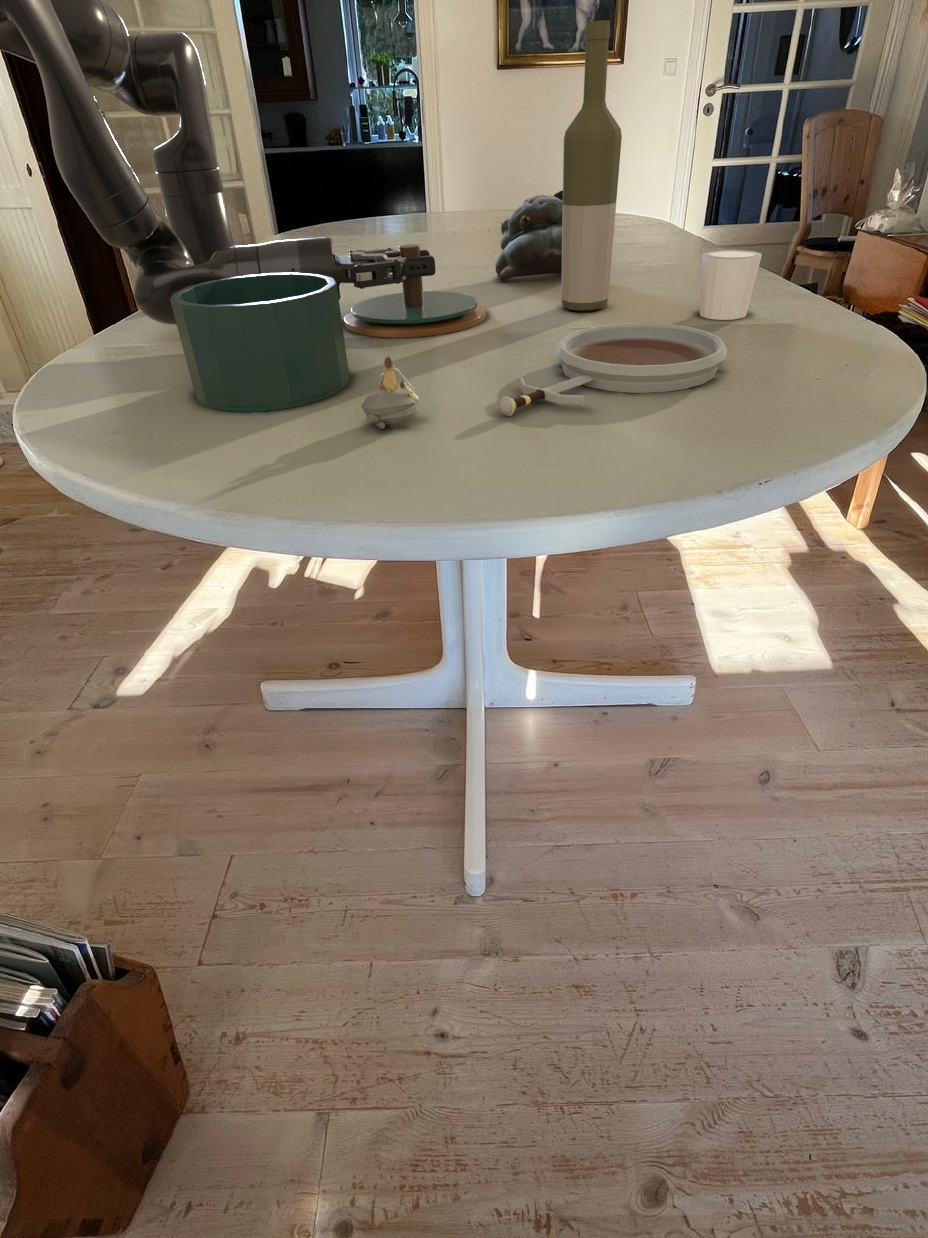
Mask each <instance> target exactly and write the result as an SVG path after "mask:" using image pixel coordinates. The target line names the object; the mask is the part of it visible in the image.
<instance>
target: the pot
mask: <svg viewBox="0 0 928 1238" xmlns="http://www.w3.org/2000/svg"><path fill="white" fill-rule="evenodd" d="M170 302H171V305H172V309H173V313H174V317H175V320H176V324H177V325H176V327H177V331H178V335H179V339H180V343H181V346H182V350H183V353H184V358H185V361H186V364H187V368H188V372H189V377H190V380H191V384H192V387H193V392H194V395H195V396H196V398H197V400H198V402H200V404H201V405H204V406H206V407H207V408H211V409H215V410H220V411H224V412H225V411H226V412H237V413H250V412H251V413H256V412H270V411H277V410H278V411H279V410H285V409H291V408H297V407H301V406H305V405H309V404H314V403H316V402H319V401H322V400H325V399H327V398H329V397H332V396H333V395H336V394H338V393H339V392H340V391H342V390H343V389H344V388H346V387H347V385H348V383H349V380H350V371H349V364H348V355H347V350H346V341H345V334H344V326H343V320H342V313H341V305H340V300H339V297H338V290H337V284H336V282H335V280H334V279H333V278H331V277H327V276H323V275H319V274H306V273H271V274H258V275H247V276H237V277H231V278H225V279H219V280H213V281H208V282H204V283H200V284H196V285H192V286H188V287H186V288H184V289H181V290H179V291H177V292H175V293H173V294H172V296H171V299H170Z"/></svg>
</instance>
